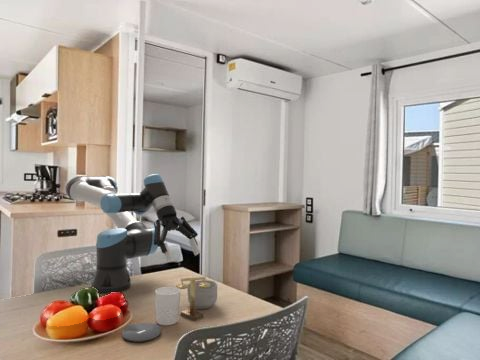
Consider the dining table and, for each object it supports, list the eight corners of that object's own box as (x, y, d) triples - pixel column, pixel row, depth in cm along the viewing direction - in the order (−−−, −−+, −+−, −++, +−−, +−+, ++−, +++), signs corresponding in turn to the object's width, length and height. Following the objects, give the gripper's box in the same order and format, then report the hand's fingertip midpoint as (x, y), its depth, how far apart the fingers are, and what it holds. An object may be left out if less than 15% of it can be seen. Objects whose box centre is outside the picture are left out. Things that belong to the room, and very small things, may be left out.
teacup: (212, 313, 123) (212, 290, 123) (182, 310, 126) (182, 287, 125) (222, 299, 137) (222, 278, 137) (195, 296, 139) (195, 275, 139)
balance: (173, 312, 124) (174, 270, 123) (182, 308, 127) (182, 268, 126) (203, 324, 114) (204, 279, 114) (211, 320, 117) (212, 276, 117)
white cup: (168, 314, 122) (169, 284, 122) (184, 320, 117) (185, 290, 117) (149, 321, 116) (150, 290, 115) (165, 328, 111) (165, 296, 110)
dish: (114, 334, 106) (114, 330, 106) (146, 323, 114) (146, 319, 114) (136, 347, 99) (136, 343, 99) (168, 334, 107) (168, 330, 107)
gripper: (142, 206, 134) (162, 258, 127) (192, 202, 153) (213, 247, 146) (133, 216, 138) (152, 267, 131) (183, 211, 157) (202, 255, 150)
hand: (184, 257), depth 138 cm, fingers open, 13 cm apart
